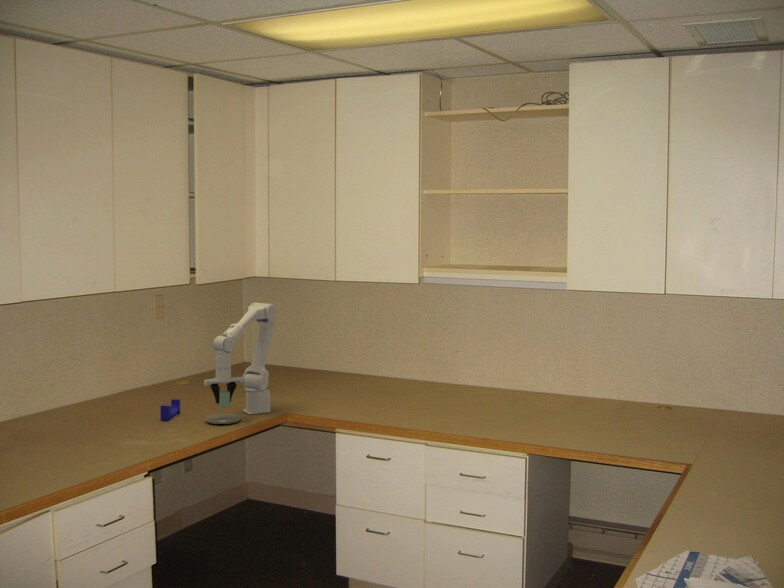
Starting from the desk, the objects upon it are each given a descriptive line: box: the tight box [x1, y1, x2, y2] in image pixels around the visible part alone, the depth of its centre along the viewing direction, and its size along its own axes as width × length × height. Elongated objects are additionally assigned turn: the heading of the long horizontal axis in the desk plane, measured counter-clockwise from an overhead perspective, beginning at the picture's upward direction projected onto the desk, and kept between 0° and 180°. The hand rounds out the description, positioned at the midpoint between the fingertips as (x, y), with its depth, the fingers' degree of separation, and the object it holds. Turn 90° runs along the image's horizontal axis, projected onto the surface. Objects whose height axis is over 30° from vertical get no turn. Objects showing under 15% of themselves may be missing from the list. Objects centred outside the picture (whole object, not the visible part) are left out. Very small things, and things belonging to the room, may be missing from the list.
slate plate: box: [205, 412, 241, 425], centre depth 306 cm, size 13×13×2 cm
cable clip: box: [160, 398, 181, 422], centre depth 311 cm, size 12×4×6 cm, turn 173°
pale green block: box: [215, 389, 231, 409], centre depth 306 cm, size 4×4×6 cm
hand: (223, 402), depth 306 cm, fingers closed on pale green block, 4 cm apart
